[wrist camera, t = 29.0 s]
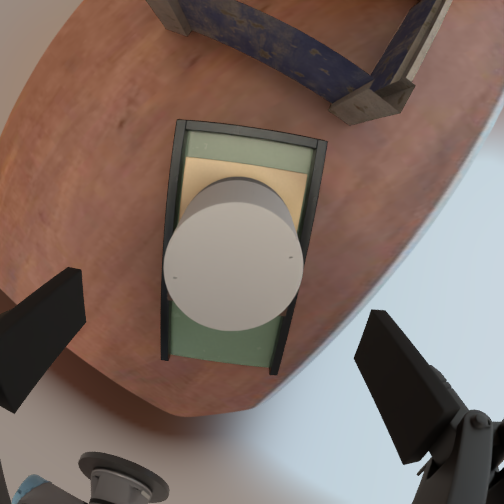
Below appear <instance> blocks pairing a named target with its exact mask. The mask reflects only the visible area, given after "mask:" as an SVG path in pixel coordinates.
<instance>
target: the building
mask: <svg viewBox="0 0 504 504" xmlns="http://www.w3.org/2000/svg"><path fill="white" fill-rule="evenodd" d="M146 1H147V3H148V4H149V5H150V7H151V8H152V10H153V11H154V12H155V14H156V15H157V17H158V18H159V19H160V21H161V22H162V24H163V25H164V27H165V28H166V29H168V30H171V31H173V32H176V33H179V34H181V35H184V36H188V35H189V34H190V32H191V31H195V32H198V33H200V34H203V35H205V36H207V37H210V38H212V39H214V40H217V41H219V42H221V43H224V44H226V45H228V46H230V47H232V48H235V49H237V50H239V51H241V52H243V53H245V54H247V55H249V56H251V57H253V58H255V59H257V60H259V61H261V62H263V63H265V64H267V65H269V66H270V67H272V68H274V69H276V70H278V71H280V72H281V73H283V74H285V75H287V76H288V77H290V78H292V79H294V80H295V81H297V82H299V83H300V84H302V85H304V86H305V87H307V88H309V89H310V90H312V91H313V92H315V93H317V94H318V95H320V96H321V97H323V98H324V99H326V100H327V101H329V102H330V103H332V105H331V106H330V108H329V109H328V111H329V112H331V113H332V114H334V115H335V116H337V117H338V118H340V119H341V120H343V121H344V122H346V123H347V124H348V125H350V126H351V125H354V124H358V123H362V122H366V121H370V120H374V119H378V118H382V117H386V116H390V115H395V114H399V113H401V111H402V109H403V108H404V106H405V104H406V102H407V100H408V98H409V97H410V95H411V93H412V91H413V89H414V87H415V85H414V84H413V83H412V80H413V78H414V77H415V75H416V73H417V71H418V69H419V67H420V65H421V63H422V61H423V59H424V58H425V56H426V54H427V52H428V50H429V48H430V46H431V44H432V42H433V40H434V38H435V36H436V34H437V32H438V30H439V28H440V26H441V24H442V22H443V20H444V17H445V15H446V13H447V11H448V9H449V7H450V5H451V3H452V0H422V1H420V2H419V3H418V4H416V5H415V6H414V7H412V8H411V9H410V11H409V12H408V14H407V16H406V17H405V19H404V21H403V22H402V24H401V26H400V27H399V29H398V31H397V32H396V34H395V36H394V37H393V39H392V41H391V42H390V44H389V46H388V47H387V49H386V50H385V52H384V54H383V55H382V57H381V59H380V60H379V62H378V64H377V65H376V67H375V69H374V70H373V72H372V74H371V75H369V74H367V73H366V72H365V71H363V70H362V69H360V68H359V67H358V66H356V65H355V64H353V63H352V62H350V61H349V60H347V59H346V58H344V57H343V56H341V55H340V54H338V53H337V52H335V51H333V50H332V49H330V48H329V47H327V46H325V45H324V44H322V43H320V42H319V41H317V40H315V39H314V38H312V37H310V36H308V35H307V34H305V33H303V32H301V31H299V30H297V29H296V28H294V27H292V26H290V25H288V24H286V23H284V22H282V21H280V20H278V19H276V18H274V17H272V16H270V15H268V14H266V13H263V12H261V11H259V10H257V9H254V8H252V7H250V6H247V5H245V4H243V3H240V2H238V1H235V0H146Z"/></svg>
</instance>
